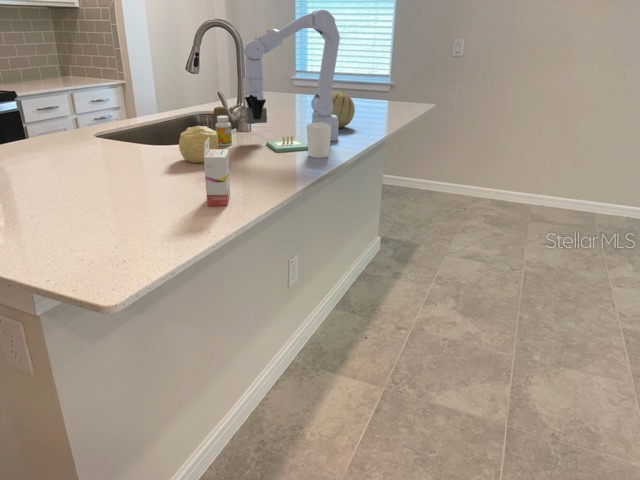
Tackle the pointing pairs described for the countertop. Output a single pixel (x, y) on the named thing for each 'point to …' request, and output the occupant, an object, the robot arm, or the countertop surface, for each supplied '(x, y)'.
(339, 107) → the ribbed yellow gourd
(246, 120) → the block
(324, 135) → the white cup
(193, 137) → the pale yellow rounded piece
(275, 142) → the board
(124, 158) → the countertop surface
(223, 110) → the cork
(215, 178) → the ink cartridge box
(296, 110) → the countertop surface
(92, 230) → the countertop surface
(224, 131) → the supplement bottle
